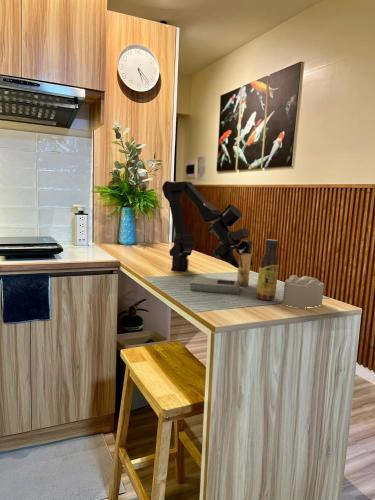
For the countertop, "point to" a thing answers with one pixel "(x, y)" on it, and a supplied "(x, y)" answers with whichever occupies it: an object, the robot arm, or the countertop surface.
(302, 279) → the lumpy-topped squat cylinder
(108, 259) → the countertop surface
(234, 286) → the plate
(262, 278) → the sauce bottle
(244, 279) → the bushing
